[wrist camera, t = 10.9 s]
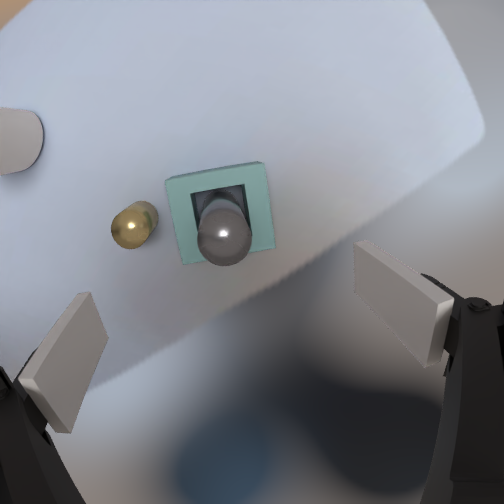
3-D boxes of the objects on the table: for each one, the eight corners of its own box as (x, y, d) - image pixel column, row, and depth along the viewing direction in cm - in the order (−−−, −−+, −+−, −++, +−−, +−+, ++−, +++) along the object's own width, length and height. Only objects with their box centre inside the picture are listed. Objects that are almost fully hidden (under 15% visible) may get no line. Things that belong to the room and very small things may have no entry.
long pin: (206, 225, 36) (203, 270, 23) (200, 192, 35) (192, 218, 22) (239, 219, 36) (255, 260, 23) (234, 186, 35) (247, 208, 22)
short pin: (130, 236, 35) (116, 252, 30) (123, 204, 34) (107, 215, 28) (161, 230, 36) (152, 245, 30) (154, 197, 34) (143, 206, 29)
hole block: (186, 250, 37) (182, 264, 32) (171, 176, 34) (164, 180, 29) (267, 235, 37) (275, 248, 33) (257, 161, 34) (264, 163, 30)
